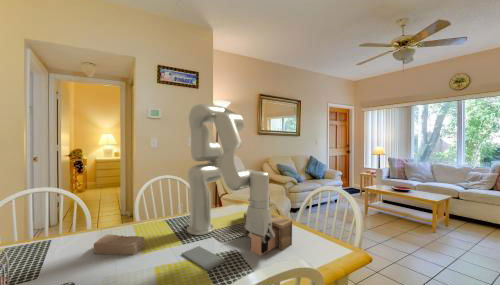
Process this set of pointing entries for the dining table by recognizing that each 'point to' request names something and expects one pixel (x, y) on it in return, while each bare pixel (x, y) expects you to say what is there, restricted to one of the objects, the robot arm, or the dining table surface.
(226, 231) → the dining table surface
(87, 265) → the dining table surface
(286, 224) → the cubby
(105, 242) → the brick
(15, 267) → the dining table surface
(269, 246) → the block
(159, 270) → the dining table surface
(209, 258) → the mat
